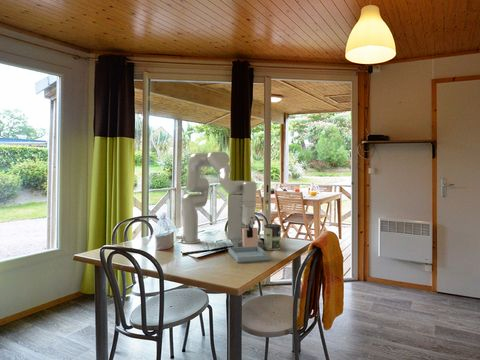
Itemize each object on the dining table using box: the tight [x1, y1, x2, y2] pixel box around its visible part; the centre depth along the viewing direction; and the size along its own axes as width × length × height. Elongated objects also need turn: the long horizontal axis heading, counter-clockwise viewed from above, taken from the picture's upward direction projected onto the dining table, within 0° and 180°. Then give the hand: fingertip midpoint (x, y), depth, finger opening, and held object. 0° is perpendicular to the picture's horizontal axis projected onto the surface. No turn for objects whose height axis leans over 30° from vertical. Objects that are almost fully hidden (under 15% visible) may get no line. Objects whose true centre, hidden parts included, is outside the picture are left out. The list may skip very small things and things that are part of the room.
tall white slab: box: [227, 194, 245, 241], centre depth 228 cm, size 14×6×30 cm, turn 73°
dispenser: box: [232, 237, 264, 250], centre depth 205 cm, size 16×12×6 cm
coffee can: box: [263, 223, 282, 251], centre depth 206 cm, size 10×10×14 cm
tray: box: [228, 246, 271, 264], centre depth 187 cm, size 18×20×3 cm
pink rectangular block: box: [242, 226, 259, 247], centre depth 186 cm, size 8×3×10 cm, turn 105°
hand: (248, 236), depth 186 cm, fingers closed on pink rectangular block, 2 cm apart
